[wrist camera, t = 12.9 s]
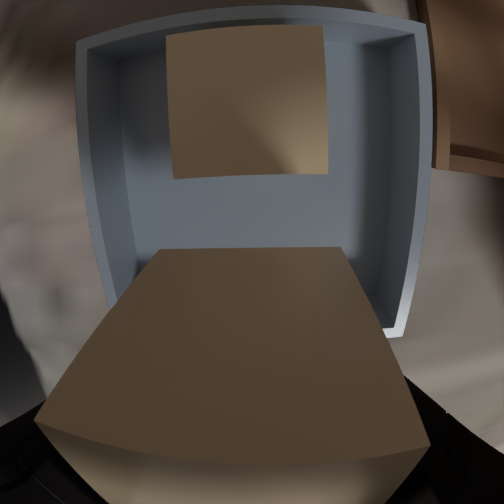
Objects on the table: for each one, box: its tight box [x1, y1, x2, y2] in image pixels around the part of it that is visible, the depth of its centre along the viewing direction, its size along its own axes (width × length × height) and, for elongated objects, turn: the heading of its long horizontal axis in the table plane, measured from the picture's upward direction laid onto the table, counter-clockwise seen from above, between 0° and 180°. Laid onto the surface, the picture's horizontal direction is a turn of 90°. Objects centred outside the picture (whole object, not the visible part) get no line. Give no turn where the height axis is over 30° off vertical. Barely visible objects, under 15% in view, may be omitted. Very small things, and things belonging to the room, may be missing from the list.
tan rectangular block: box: [166, 25, 328, 179], centre depth 10 cm, size 4×4×6 cm
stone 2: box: [34, 247, 431, 504], centre depth 6 cm, size 4×4×6 cm
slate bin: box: [75, 5, 433, 338], centre depth 13 cm, size 14×14×4 cm
